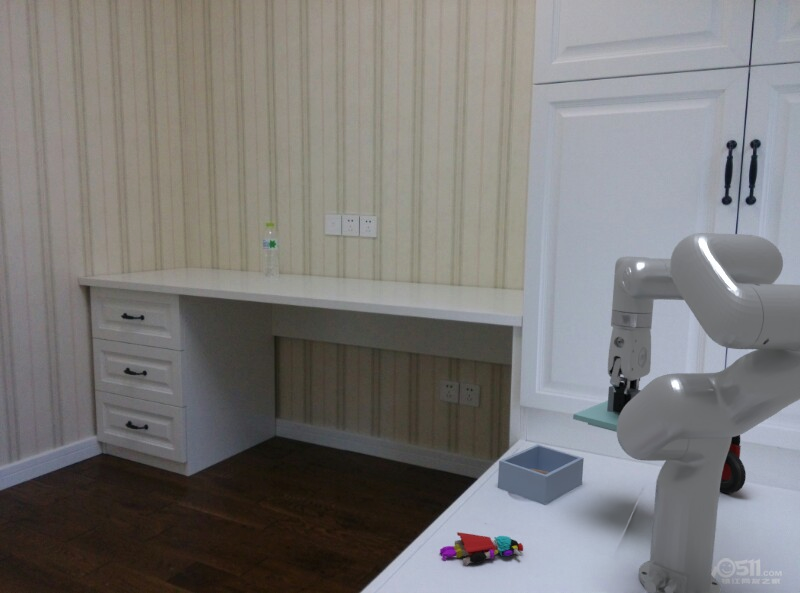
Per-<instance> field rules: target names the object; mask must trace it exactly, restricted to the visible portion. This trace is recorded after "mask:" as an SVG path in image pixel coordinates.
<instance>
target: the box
mask: <svg viewBox="0 0 800 593" xmlns="http://www.w3.org/2000/svg"><path fill="white" fill-rule="evenodd" d="M584 459H585V458H584V457H581V456H578V455H575V454H572V453H567V452H565V451H562V450H558V449H554V448H551V447H549V446H545V445H542V444H538V443H537V444H535V445H533V446H531V447H528V448H525V449H523V450H521V451H519V452H517V453H514V454H511V455H509V456H507V457H505V458H502V459H500V460H499V461H498V476H497V488H498V489H500V490H503V491H506V492H508V493H511V494H513V495H516V496H520V497H522V498H524V499H527V500H530V501H532V502H535V503H537V504H541V505H543V506H546V505H548V504H549V503H551V502H553V501H555V500H557V499H558V498H560V497H562V496H564V495H566V494H568V493H569V492H571V491H573V490H575V489H576V488H578V487H580V486H582V485H583V472H584ZM531 468H532V469H537V470H542V471H546V472H550V473H548V474H546V475H545V474H542V473H539V472H536V471H533V470H530V469H531Z"/></svg>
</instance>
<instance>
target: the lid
mask: <svg viewBox="0 0 800 593" xmlns="http://www.w3.org/2000/svg"><path fill="white" fill-rule="evenodd" d="M613 388H614V386H613V385H610V386H608V398H607V400H605V401H604V402H600V403H597V404H596V405H593V406H590V407H588V408H586V409H583V410H581V411H578V412H575V413H573V416H572V417H573V418H572V420H575V421H579V422H583V423H586V424H587V425H589V426H592V427H597V428H600V429H604V430H609V431H612V432H616V433H617V422H618V418H619V415H620V413H618V412H614V411H613V401H614V391H613ZM641 390H642V389H641ZM641 390H640V389H638V390H636V389H632V388H629V394H631V399H632V398H633V397H634V396H635V395H637V394H638V393H639V392H640V391H641ZM631 399H630V400H631Z"/></svg>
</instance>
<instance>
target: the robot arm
mask: <svg viewBox="0 0 800 593" xmlns="http://www.w3.org/2000/svg"><path fill="white" fill-rule="evenodd" d="M783 267H784V260H783V256H782V253H781V251H780V249H779V248H778V247H777V246H776V245H775V244H774V243H773V242H771V241H770V240H769V239H766V238H764V237H762V236H758V235H752V234H742V233H740V234H739V233H709V232H706V233H703V232H702V233H694V234H691V235H688V236H686V237H684V238H682V240H681V241H679V242H678V243H677V244H676V246H675V247H674V249H673V251H672V253H671V257H670V258H652V257H651V258H650V257H645V256H643V257H642V256H621V257H619V258H617V260H616V261H615V264H614V277H613V279H614V280H613V290H612V303H611V304H612V305H611V316H610V317H611V318H610V327H612V331H611V336H610V343H609V348H608V357H607V358H608V359H607V374H608V376H609V377H610V379H609V384H610V385H611V386H614V388H613V391H614V401H613V411H614V412H618V413H620V415H619V418H618V422H617V432H616V438H617V441H618V444H619V446H620V448H621V450H623V452H624V453H625V454H626V455H628V456H629V457H631V458H633V459H635V460H638V461H643V462H644V461H650V462H651V461H652V462H653V461H655V462H657V461H659V462H660V461H662V462H663V461H664V463H663V464H662V466H661V469H660V470H659V473H658V475H657V478H656V483H655V493H654V494H655V495H654V507H653V516H652V517H653V520H652V529H651V530H652V531H651V542H650V556H649V560H648V561H647V560H646V562H644V563H642V564H641V565H640V567H639V570H638V578H639V581H640V583H641V584H642V585H643V587H644V589H645V591H646V592H648V593H721V585H720V583H719V582H718V580H717V579H716V578H715V577H714V576H713V575H712V572H713V571H712V570H713V563H714V562H713V560H714V552H715V551H714V550H715V540H716V530H717V520H718V519H717V518H718V507H719V498H720V492H721V491H720V483H721V476H722V471H723V467H724V463H725V460H726V457H727V454H728V451H729V448H730V444H731V440H732V437H735V436H738V435H740V436H741V435H743V434H745V433H746V432H748V431H749V430H751V429H753V428H754V427H756V426H758V425H760V424H761V423H763V422H765V421H766V420H768V419H769V418H771V417H773V416H775V415H777V413H780V412H781V411H782V410H784V409H785V408H787V407H788V406H791V405H792V404H794V403H795V402H798V401H799V400H800V284H779V283H777V284H775V282H776V280H778V279H779V277H780V275H781V273H782V271H783ZM654 300H657V301H658V300H664V301H665V300H670V301H671V300H672V301H673V300H674V301H685V303H686V305H687V307H688V308H689V309H690V311H691V312H692V314H693V315H694V317H695V319H696V320H697V322H698V323H699V325H700V327H701V328H702V329H703V331H704V332H705V333H706V334H707V336H708V337H709V339H711V340H712V341H713V342H714V343H715V344H718V346H721V347H724V348H728V349H733V350H753V351H751V352H748V353H746V354H743V355H742V356H740V357H739V358H737V359H736V360H735V361H734V362H733V363H731V364H730V365H729V366H727V367H726V368H724V369H722V370H721V371H718V372H705V373H704V372H702V373H701V372H700V373H699V372H698V373H694V372H691V373H688V372H687V373H683V372H681V373H680V372H679V373H678V372H677V373H676V372H675V373H669V374H668V373H667V374H663V375H660V376H657V377H655V378H654V379H652V380H651V381H650V382H648V383H647V384H646V385H645V386H644V387H643V388H642V389H641V391H640V392H639V393H638V394H637V395H635V396H634V397H633V398H632V399H631V394H629V388H632V389H636V390H640V381H641V379H642V378H644V377H645V376H648V375H649V374H650V372H651V364H652V363H651V362H652V361H651V360H652V359H651V358H652V332H651V330H652V324H653V323H652V322H653V313H654V312H653V311H654ZM630 399H631V400H630Z"/></svg>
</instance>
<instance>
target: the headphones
mask: <svg viewBox="0 0 800 593" xmlns="http://www.w3.org/2000/svg"><path fill="white" fill-rule="evenodd" d="M740 458H741V435H738V436H735V437H732V440H731V444H730V448H729V451H728V454H727V457H726V460H725V463H724V467H723V471H722V476H721V483H720V491H719V492H721V491H722V492H721V493H724V494H734V493H736V492H738V491H740V490H741V489H742V488H743V486H744V484H745V483H746V475H747V474H746V473H747V472H746V469H745V465H744V463H743V461H742V460H741V459H740Z"/></svg>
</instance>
